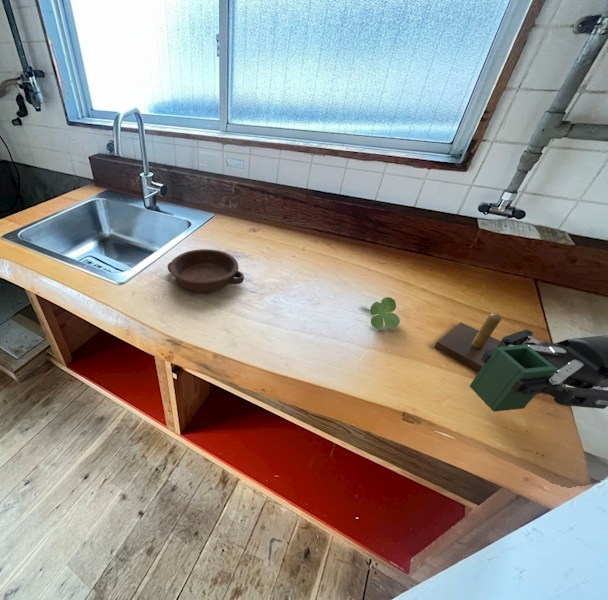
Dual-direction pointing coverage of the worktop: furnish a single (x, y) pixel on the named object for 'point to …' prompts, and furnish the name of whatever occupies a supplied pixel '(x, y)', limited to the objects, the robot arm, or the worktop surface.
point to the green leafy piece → (384, 314)
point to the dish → (205, 270)
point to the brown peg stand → (470, 342)
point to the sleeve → (509, 376)
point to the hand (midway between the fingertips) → (500, 371)
